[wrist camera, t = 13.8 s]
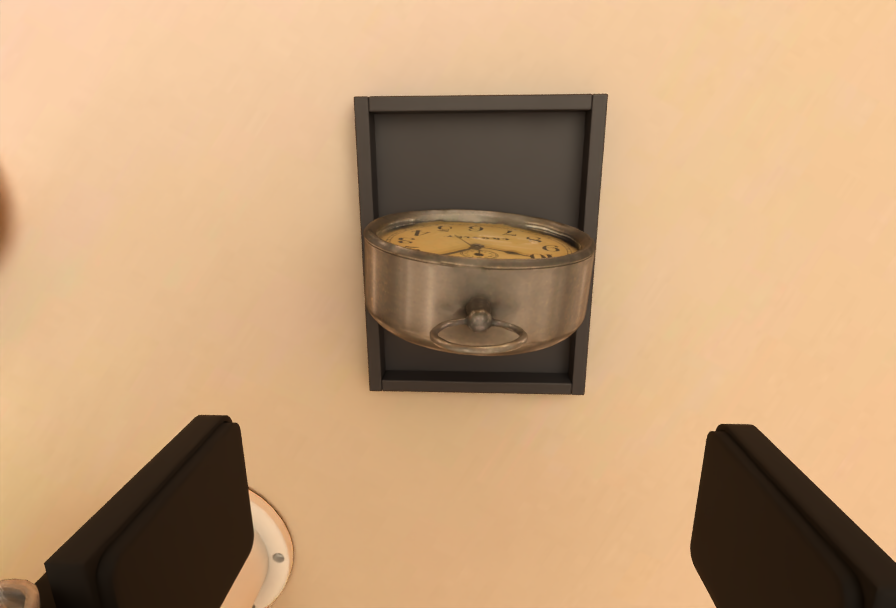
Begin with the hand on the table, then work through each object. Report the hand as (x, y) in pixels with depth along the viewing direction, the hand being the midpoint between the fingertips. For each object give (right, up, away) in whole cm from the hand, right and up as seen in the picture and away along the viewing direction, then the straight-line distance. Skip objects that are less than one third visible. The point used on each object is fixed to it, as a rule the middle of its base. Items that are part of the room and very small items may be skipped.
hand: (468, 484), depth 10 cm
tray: (+1, +7, +22) cm, 23 cm away
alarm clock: (+1, +7, +22) cm, 23 cm away
